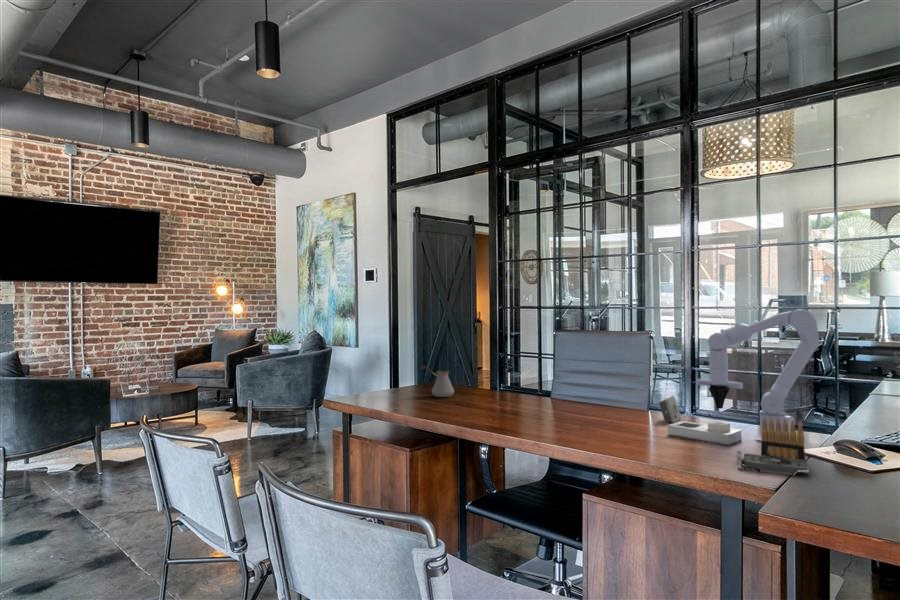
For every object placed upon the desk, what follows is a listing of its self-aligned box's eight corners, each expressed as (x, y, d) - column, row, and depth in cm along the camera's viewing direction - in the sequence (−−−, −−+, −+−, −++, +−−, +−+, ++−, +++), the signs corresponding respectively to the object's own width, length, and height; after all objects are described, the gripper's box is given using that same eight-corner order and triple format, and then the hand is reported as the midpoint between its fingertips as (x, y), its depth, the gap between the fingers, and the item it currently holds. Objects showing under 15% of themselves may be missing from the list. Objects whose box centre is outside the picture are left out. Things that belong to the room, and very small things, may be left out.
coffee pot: (459, 396, 272) (458, 367, 272) (442, 399, 264) (441, 369, 264) (431, 392, 288) (430, 364, 288) (414, 395, 280) (414, 366, 280)
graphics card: (735, 460, 144) (736, 449, 154) (736, 474, 144) (736, 462, 154) (811, 469, 136) (806, 456, 146) (811, 484, 136) (807, 470, 146)
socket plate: (741, 440, 176) (741, 430, 176) (728, 446, 170) (728, 435, 170) (682, 430, 192) (681, 420, 192) (667, 435, 185) (667, 425, 185)
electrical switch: (674, 423, 203) (671, 399, 204) (660, 423, 206) (657, 399, 207) (681, 419, 211) (678, 395, 211) (668, 419, 214) (665, 395, 214)
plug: (730, 439, 176) (730, 423, 176) (720, 441, 174) (720, 425, 174) (718, 436, 180) (717, 421, 180) (708, 438, 178) (707, 423, 178)
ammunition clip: (760, 458, 156) (759, 416, 157) (762, 456, 158) (761, 415, 158) (804, 464, 150) (803, 421, 150) (805, 463, 151) (804, 420, 151)
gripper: (746, 368, 181) (747, 409, 181) (702, 365, 192) (703, 403, 192) (737, 370, 177) (738, 412, 176) (693, 367, 187) (694, 406, 187)
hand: (719, 408), depth 184 cm, fingers closed
